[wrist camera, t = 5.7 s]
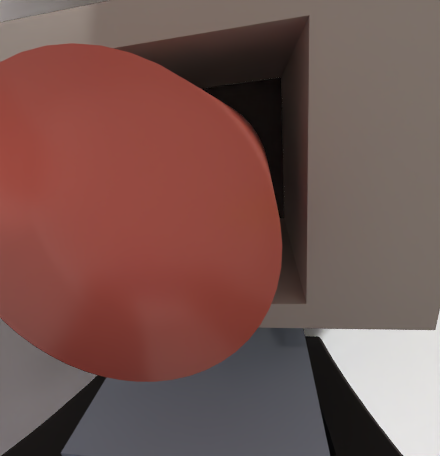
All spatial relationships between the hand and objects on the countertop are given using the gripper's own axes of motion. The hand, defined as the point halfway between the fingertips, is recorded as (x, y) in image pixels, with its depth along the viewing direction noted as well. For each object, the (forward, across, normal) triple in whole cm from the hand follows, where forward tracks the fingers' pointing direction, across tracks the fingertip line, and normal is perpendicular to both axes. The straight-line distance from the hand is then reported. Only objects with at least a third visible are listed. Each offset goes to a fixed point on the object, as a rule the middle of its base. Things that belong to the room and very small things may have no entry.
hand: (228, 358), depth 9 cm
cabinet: (+2, 0, -6) cm, 6 cm away
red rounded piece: (-1, 0, -6) cm, 6 cm away
